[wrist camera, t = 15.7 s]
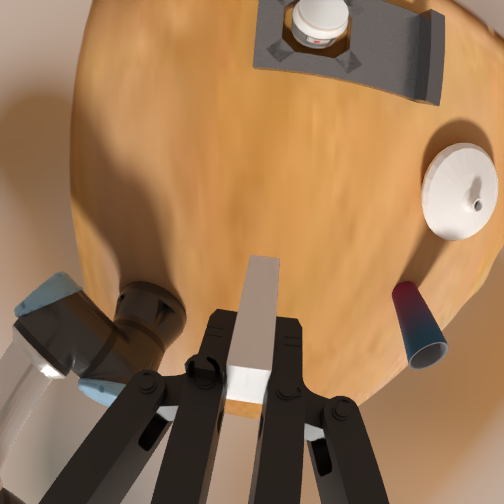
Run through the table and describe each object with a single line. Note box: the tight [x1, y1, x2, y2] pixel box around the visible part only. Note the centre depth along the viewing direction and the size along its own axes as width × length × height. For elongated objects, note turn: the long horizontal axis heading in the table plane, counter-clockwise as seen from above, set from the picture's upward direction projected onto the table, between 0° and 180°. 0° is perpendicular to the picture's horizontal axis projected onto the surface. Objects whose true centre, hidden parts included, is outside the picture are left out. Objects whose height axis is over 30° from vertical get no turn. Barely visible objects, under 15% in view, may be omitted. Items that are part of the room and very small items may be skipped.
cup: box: [392, 281, 449, 370], centre depth 37 cm, size 7×7×15 cm
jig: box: [253, 0, 445, 106], centre depth 21 cm, size 22×13×6 cm, turn 86°
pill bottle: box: [292, 0, 349, 49], centre depth 20 cm, size 6×6×10 cm
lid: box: [421, 143, 498, 241], centre depth 29 cm, size 16×16×7 cm
